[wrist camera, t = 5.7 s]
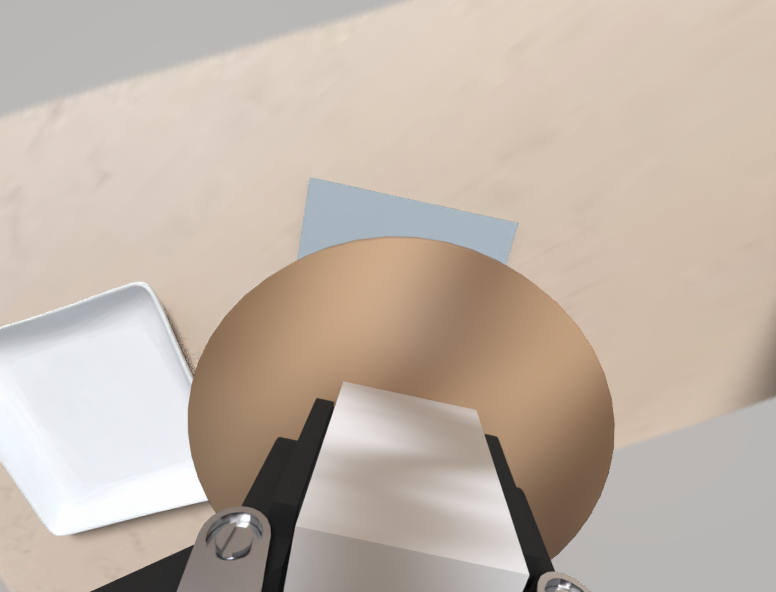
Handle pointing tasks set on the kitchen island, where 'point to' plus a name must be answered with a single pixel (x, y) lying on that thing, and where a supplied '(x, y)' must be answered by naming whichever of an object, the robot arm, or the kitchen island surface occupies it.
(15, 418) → the salad plate
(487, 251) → the mat
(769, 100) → the kitchen island surface
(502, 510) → the lid
